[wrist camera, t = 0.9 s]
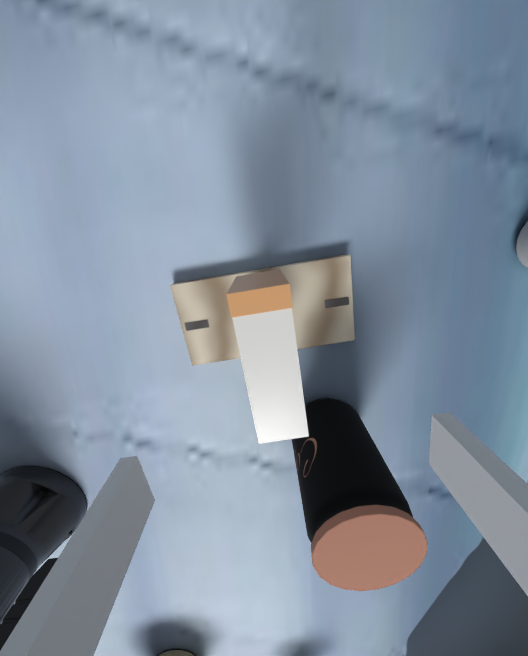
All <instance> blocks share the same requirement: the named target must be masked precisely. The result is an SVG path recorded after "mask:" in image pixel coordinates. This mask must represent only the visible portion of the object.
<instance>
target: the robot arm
mask: <svg viewBox="0 0 528 656" xmlns="http://www.w3.org/2000/svg"><path fill="white" fill-rule="evenodd" d="M429 464H430V466H431V467H432V468H433V470H434V471H435V472H436V474H437V475H438V476H439V478H440V479H441V480H442V482H443V483H444V484H445V486H446V487H447V489H448V490H449V491H450V493H451V494H452V495H453V497H454V498H455V499H456V501H457V502H458V503H459V505H460V506H461V507H462V509H463V510H464V511H465V513H466V514H467V515H468V517H469V518H470V519H471V521H472V522H473V523H474V525H475V526H476V527H477V529H478V530H479V531H480V533H481V534H482V535H483V537H484V538H485V539H486V541H487V542H488V543H489V545H490V546H491V547H492V549H493V550H494V551H495V553H496V554H497V556H498V557H499V558H500V560H501V561H502V562H503V564H504V565H505V566H506V568H507V569H508V570H509V572H510V573H511V574H512V576H513V577H514V578H515V580H516V581H517V582H518V583H519V585H520V586H521V588H522V589H523V590H524V592H525V593H526V594H527V596H528V484H527V483H526V482H525V481H524V480H523V479H522V478H521V477H519V476H518V475H517V474H516V473H515V472H514V471H513V470H512V469H511V468H510V467H509V466H508V465H506V464H505V463H504V462H503V461H502V460H501V459H500V458H499V457H498V456H497V455H496V454H495V453H493V452H492V451H491V450H490V449H489V448H488V447H487V446H486V445H485V444H484V443H483V442H482V441H480V440H479V439H478V438H477V437H476V436H475V435H474V434H473V433H472V432H471V431H470V430H469V429H467V428H466V427H465V426H464V425H463V424H462V423H461V422H460V421H459V420H458V419H457V418H456V417H454V416H453V415H452V414H451V413H442V414H435V415H432V425H431V441H430V457H429ZM154 501H155V499H154V497H153V495H152V492H151V490H150V487H149V485H148V482H147V480H146V477H145V475H144V472H143V470H142V467H141V465H140V462H139V460H138V457H137V456H134V457H127V458H120V460H119V462H118V463H117V465H116V466H115V468H114V470H113V471H112V473H111V474H110V476H109V478H108V479H107V481H106V482H105V484H104V486H103V487H102V489H101V490H100V492H99V494H98V495H97V497H96V498H95V500H94V502H93V503H92V505H91V506H90V508H89V510H88V511H87V513H86V510H87V503H86V499H85V496H84V494H83V492H82V491H81V489H80V488H79V487H78V486H77V485H76V484H75V483H74V482H73V481H72V480H70V479H69V478H67V477H66V476H64V475H62V474H60V473H58V472H56V471H53V470H50V469H47V468H43V467H37V466H22V467H16V468H12V469H10V470H8V471H6V472H4V473H3V474H1V475H0V656H93V655H94V653H95V650H96V648H97V645H98V643H99V640H100V638H101V635H102V633H103V630H104V627H105V625H106V622H107V620H108V617H109V615H110V612H111V610H112V607H113V605H114V602H115V600H116V597H117V595H118V592H119V590H120V587H121V585H122V582H123V579H124V577H125V574H126V572H127V569H128V567H129V564H130V562H131V559H132V557H133V554H134V552H135V549H136V547H137V544H138V542H139V539H140V537H141V534H142V531H143V529H144V526H145V524H146V521H147V519H148V516H149V514H150V511H151V509H152V506H153V504H154ZM74 531H75V532H74ZM73 533H74V534H73ZM72 534H73V535H72ZM71 535H72V537H71V538H70V540H69V542H68V543H67V545H66V546H65V548H64V550H63V551H62V553H61V554H60V556H59V558H53V559H48V560H47V561H46V562H45V563H44V564H43V565H42V566H41V568H40V569H39V570H38V571H37V572H36V573H35V571H36V570H37V568H38V567H39V566H40V565H41V564H42V563H43V562H44V561H45V560H46V559H47V558H48V557H49V556H50V555H51V554H52V553H53V552H54V551H55V550H56V549H57V548H58V547H59V546H60V545H61V544H62V543H63V542H64V541H65V540H66V539H67V538H69V537H70V536H71ZM34 573H35V574H34ZM33 574H34V575H33ZM14 603H15V604H14ZM2 621H3V622H2Z"/></svg>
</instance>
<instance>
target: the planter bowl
mask: <svg viewBox="0 0 528 656" xmlns="http://www.w3.org/2000/svg"><path fill="white" fill-rule="evenodd" d="M159 656H195V655H193V654H192V653H190V652H187V651H183V650H171V651H166V652H164V653H162V654H160V655H159Z"/></svg>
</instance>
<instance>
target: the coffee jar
mask: <svg viewBox="0 0 528 656" xmlns="http://www.w3.org/2000/svg"><path fill="white" fill-rule="evenodd" d="M305 411H306V419H307V426H308V434H309V437H302V438H295V439H292V443H293V449H294V456H295V462H296V468H297V474H298V480H299V486H300V492H301V498H302V504H303V510H304V516H305V522H306V529H307V535H308V537H309V540H310V541H311V552H312V563H313V567H314V568H315V570H316V572H317V573H318V575H319V577H321V578H322V579H324V580H325V581H326V582H328V583H329V584H331V585H333V586H336V587H339V588H342V589H346V590H356V591H365V590H376V589H380V588H384V587H387V586H391V585H394V584H396V583H398V582H399V581H401V580H403V579H405V578H407V577H409V576H410V575H411V574H412V573H413V572H414V571H415V570H416V569H418V568H419V567H420V565H421V563H422V562H423V560H424V558H425V557H426V553H427V545H428V543H427V540H426V537H425V534H424V531H423V530H422V528H421V526H420V525H419V523H418V522H417V521H416V520H415V519H414V518H413V516H412V513H411V510H410V508H409V505H408V502H407V500H406V499H405V497H404V495H403V493H402V492H401V490H400V488H399V486H398V484H397V483H396V481H395V479H394V477H393V476H392V474H391V472H390V470H389V468H388V467H387V465H386V463H385V461H384V459H383V458H382V456H381V454H380V452H379V451H378V449H377V447H376V445H375V443H374V442H373V440H372V438H371V436H370V435H369V433H368V431H367V429H366V427H365V426H364V424H363V422H362V420H361V418H360V417H359V415H358V413H357V412H356V411H355V410H354V409H353V408H352V407H351V406H350V405H348V404H346V403H344V402H342V401H340V400H335V399H329V398H326V399H318V400H315V401H312V402H310V403H308V404H307V405H305Z"/></svg>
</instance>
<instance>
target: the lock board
mask: <svg viewBox="0 0 528 656" xmlns="http://www.w3.org/2000/svg"><path fill="white" fill-rule="evenodd" d="M277 269H280V270H281V272H282V273H283V275H284V276H285V278H286V279H287V281H288V282H289V284H290V291H291V299H292V306H293V308H292V313H293V320H294V328H295V335H296V343H297V349H301V348H308V347H314V346H321V345H327V344H333V343H340V342H346V341H352V340H355V332H354V313H353V295H352V276H351V258H350V255H347V254H346V255H340V256H334V257H328V258H322V259H316V260H310V261H304V262H298V263H293V264H287V265H281V266H275V267H269V268H263V269H257V270H251V271H245V272H239V273H233V274H227V275H221V276H215V277H209V278H203V279H197V280H191V281H186V282H180V283H174V284H172V285H170V287H171V291H172V294H173V298H174V302H175V305H176V309H177V312H178V316H179V319H180V323H181V326H182V330H183V334H184V337H185V341H186V344H187V348H188V351H189V355H190V359H191V362H192V366H193V365H199V364H206V363H212V362H219V361H225V360H231V359H238V358H241V357H240V353H239V348H238V343H237V338H236V334H235V329H234V324H233V319H232V318H231V314H230V309H229V305H228V300H227V295H226V294H227V292H228V290H229V288H230V287H231V285H232V283H233V281H234V280H235V278H236V276H241V275H247V274H253V273H259V272H265V271H271V270H277Z"/></svg>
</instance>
